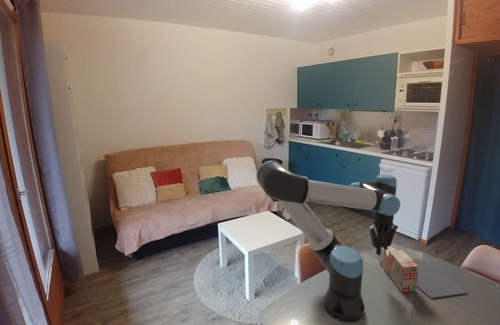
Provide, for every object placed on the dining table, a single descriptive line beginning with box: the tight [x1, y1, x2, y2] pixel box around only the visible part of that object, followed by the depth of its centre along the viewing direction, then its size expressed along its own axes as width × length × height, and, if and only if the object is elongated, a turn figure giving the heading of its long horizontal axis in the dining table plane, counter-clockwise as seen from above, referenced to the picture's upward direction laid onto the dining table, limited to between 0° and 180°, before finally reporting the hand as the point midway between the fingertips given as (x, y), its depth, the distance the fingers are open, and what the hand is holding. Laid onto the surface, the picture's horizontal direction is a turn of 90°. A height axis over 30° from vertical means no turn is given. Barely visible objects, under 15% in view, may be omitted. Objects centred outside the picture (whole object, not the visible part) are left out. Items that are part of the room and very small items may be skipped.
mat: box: [411, 258, 468, 300], centre depth 124 cm, size 17×26×1 cm, turn 9°
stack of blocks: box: [379, 245, 418, 293], centre depth 123 cm, size 21×6×12 cm, turn 179°
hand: (380, 260), depth 121 cm, fingers closed
